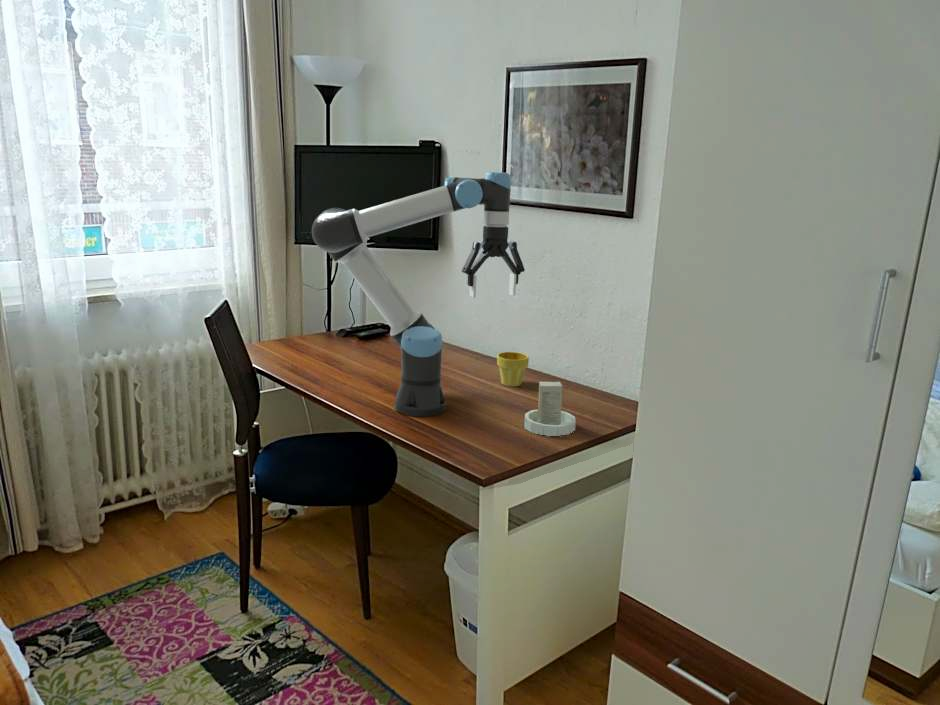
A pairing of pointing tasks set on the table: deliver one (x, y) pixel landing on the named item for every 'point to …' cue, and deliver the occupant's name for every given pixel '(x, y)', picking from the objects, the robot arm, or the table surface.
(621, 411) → the table surface
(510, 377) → the plant pot
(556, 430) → the celadon dish
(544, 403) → the skincare box
